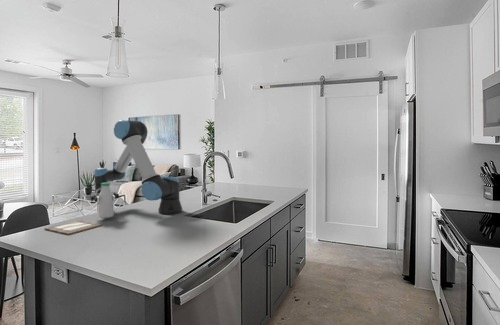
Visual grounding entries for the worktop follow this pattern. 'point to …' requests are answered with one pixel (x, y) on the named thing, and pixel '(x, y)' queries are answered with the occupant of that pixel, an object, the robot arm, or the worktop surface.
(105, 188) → the milk bottle
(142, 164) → the robot arm
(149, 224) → the worktop surface
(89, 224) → the writing board
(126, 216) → the worktop surface
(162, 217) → the worktop surface
